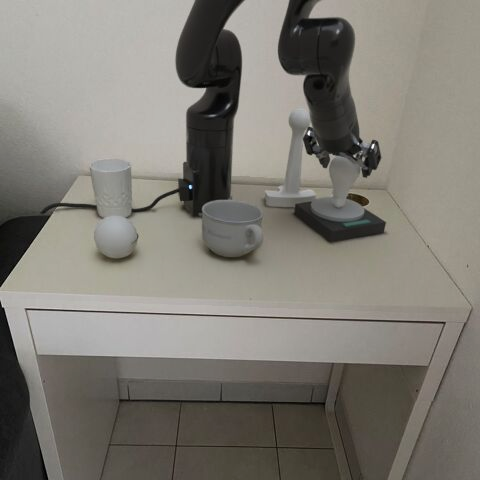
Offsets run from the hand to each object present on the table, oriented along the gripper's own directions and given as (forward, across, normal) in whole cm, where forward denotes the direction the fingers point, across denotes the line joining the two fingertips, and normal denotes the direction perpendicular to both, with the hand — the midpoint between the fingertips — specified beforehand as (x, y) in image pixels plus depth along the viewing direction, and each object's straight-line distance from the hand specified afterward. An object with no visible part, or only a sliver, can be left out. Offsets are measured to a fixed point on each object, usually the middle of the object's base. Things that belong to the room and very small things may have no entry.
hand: (346, 168), depth 98 cm
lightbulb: (+4, 0, +7) cm, 8 cm away
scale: (+6, -1, +9) cm, 11 cm away
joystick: (+10, +13, +6) cm, 17 cm away
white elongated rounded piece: (-19, +26, +35) cm, 47 cm away
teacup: (-11, +10, +26) cm, 30 cm away
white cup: (-11, +38, +26) cm, 48 cm away
